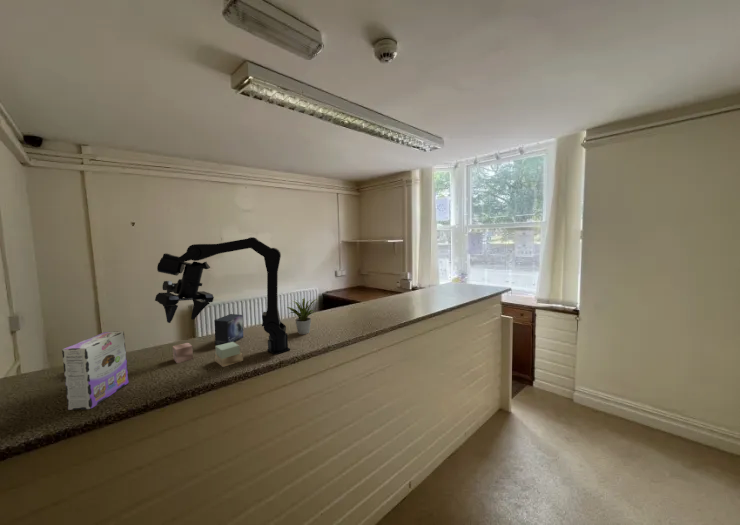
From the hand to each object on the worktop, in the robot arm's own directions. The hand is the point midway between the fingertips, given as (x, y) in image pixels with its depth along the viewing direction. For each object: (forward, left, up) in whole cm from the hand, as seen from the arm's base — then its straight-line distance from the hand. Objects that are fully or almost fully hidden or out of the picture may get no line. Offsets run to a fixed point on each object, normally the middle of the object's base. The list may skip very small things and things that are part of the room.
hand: (181, 321), depth 106 cm
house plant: (-48, +5, -15) cm, 51 cm away
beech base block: (-11, +13, -15) cm, 23 cm away
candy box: (+23, +11, -15) cm, 29 cm away
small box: (-19, -8, -15) cm, 26 cm away
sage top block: (-11, +13, -12) cm, 20 cm away
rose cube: (0, -1, -14) cm, 15 cm away
